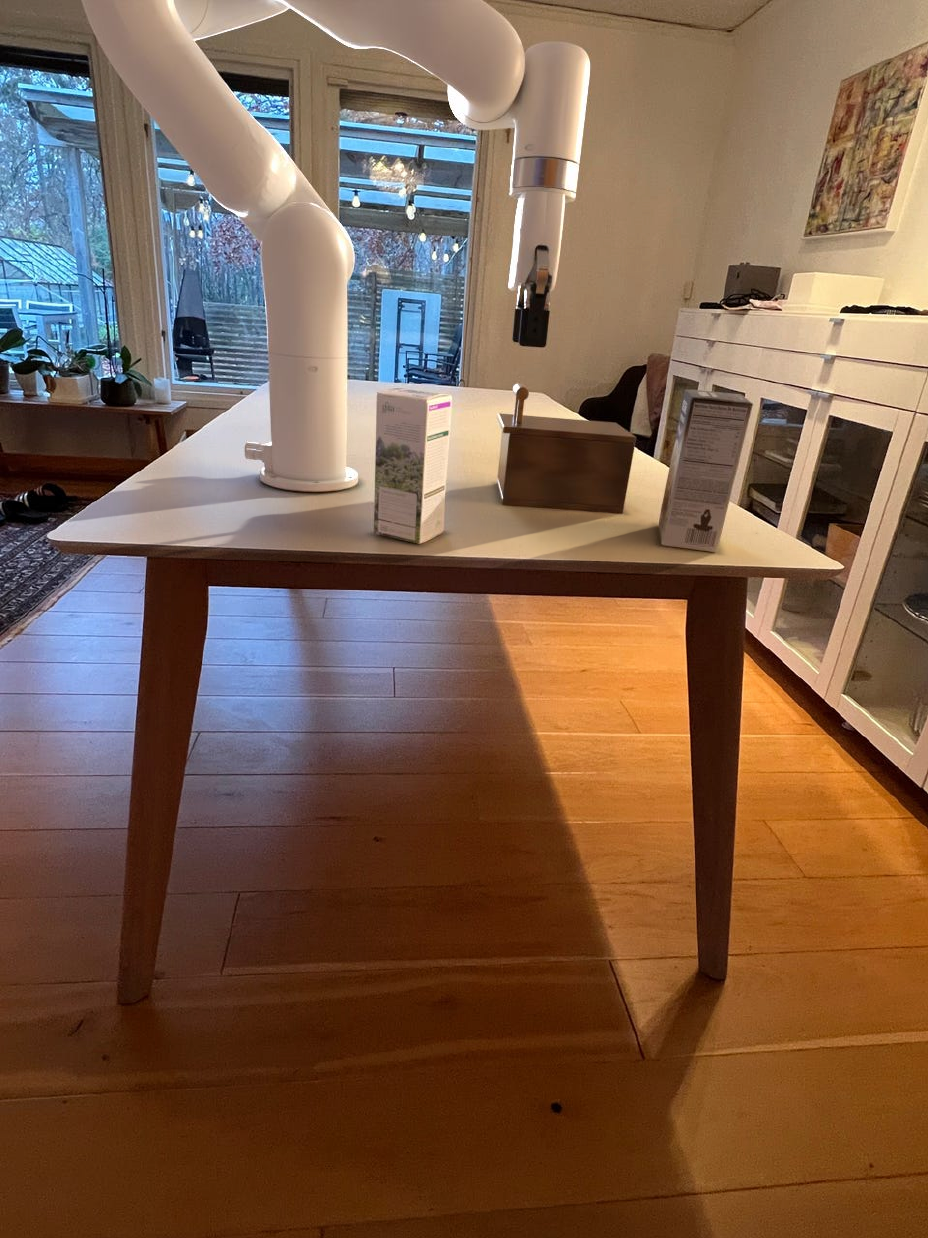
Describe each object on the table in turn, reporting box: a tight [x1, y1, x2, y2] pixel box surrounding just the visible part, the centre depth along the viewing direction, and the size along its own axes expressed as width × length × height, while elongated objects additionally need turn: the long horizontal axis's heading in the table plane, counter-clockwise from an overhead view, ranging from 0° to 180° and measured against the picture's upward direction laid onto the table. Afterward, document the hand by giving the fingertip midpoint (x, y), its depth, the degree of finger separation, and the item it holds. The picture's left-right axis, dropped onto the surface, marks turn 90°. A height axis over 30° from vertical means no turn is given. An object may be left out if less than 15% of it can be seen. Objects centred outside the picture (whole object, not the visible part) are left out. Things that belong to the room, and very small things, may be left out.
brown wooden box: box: [496, 430, 636, 514], centre depth 92 cm, size 16×12×9 cm
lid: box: [497, 382, 637, 444], centre depth 89 cm, size 16×12×5 cm
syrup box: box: [373, 387, 453, 545], centre depth 71 cm, size 6×6×14 cm
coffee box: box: [658, 388, 754, 553], centre depth 77 cm, size 9×6×16 cm
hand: (528, 344), depth 86 cm, fingers open, 9 cm apart
